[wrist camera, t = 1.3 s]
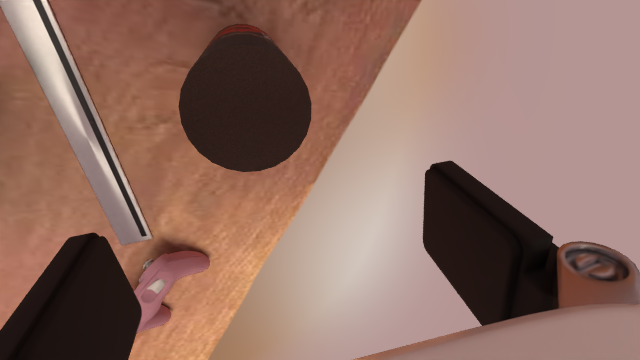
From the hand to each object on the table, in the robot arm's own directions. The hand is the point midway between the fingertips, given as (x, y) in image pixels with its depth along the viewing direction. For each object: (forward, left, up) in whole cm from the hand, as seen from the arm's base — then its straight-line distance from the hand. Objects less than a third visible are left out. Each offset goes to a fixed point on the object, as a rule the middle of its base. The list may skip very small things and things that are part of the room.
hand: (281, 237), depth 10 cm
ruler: (+2, -15, -22) cm, 27 cm away
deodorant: (-2, -1, -23) cm, 23 cm away
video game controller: (+18, -14, -23) cm, 32 cm away
